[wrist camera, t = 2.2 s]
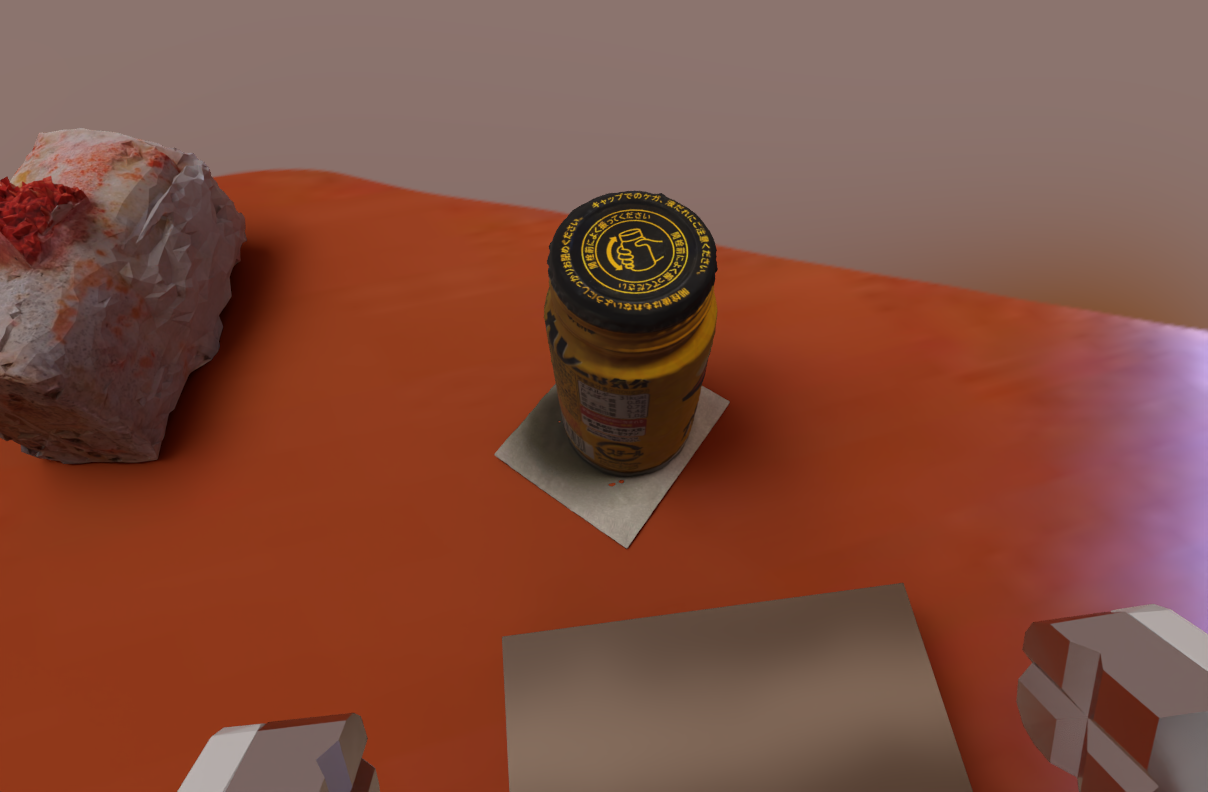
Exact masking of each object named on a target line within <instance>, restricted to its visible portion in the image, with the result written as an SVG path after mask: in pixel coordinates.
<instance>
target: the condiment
mask: <svg viewBox="0 0 1208 792" xmlns="http://www.w3.org/2000/svg"><path fill="white" fill-rule="evenodd" d="M549 249H550V254H549V256H548V260H547V264H548V265H549V268H548V274H549V278H550V279H549V290H548V293H547V296H546V301H545V307H544V319H545V324H546V331H547V337H548V343H549V348H550V353H551V362H552V365H553V370H554V376H555V382H556V384H555V385H554V386H553V387H552V388H551V389H550V391H549V392H548V393H547V394H546V395H545V396H544V397H543V398H542V399H541V400H540V402H539V403H538V404H537V406H536V407H535V408H534V409H533V410H532V412H531V413H529V415H528V416H527V418H526V419H525V420H524V421H523V422H522V423H521V425H520V426H519V427H518V428H517V429H516V430H515V431H514V432H513V433H512V434H511V435H510V436H509V437H508V438H507V440H506V441H505V442H504V444H503V445H502V446H501V447H500V448H499V449H498V451H497V452H496V453H495V454H494V455H495V456H497V457H498V458H499V459H501V460H502V461H503V462H505V463H506V464H508V465H509V466H510V467H511V468H513V469H514V470H516V471H517V472H519V473H520V474H521V475H523V476H524V477H525V478H527V479H528V480H530V481H531V482H533V483H534V484H536V485H537V486H538V487H539V488H541V489H542V490H544V491H545V492H546V493H548V494H549V495H551V496H552V497H553V498H555V499H556V500H558V501H559V502H561V503H562V504H564V505H565V506H566V507H567V508H569V509H570V510H571V511H573V512H575V513H576V514H578V515H579V516H581V517H582V518H584V519H585V520H587V521H588V522H589V523H591V524H592V525H593V526H595V527H596V528H598V529H599V530H600V531H602V532H604V533H605V534H607V535H608V536H609V537H611V538H612V539H614V540H615V541H617V542H618V543H619V544H621V545H622V546H624V547H625V548H628V546H629V545H630V543H631V542H632V541H633V539H634V538H635V536H636V535H637V533H638V532H639V530H640V529H641V528H642V526H643V525H644V524H645V522H646V521H647V519H648V518H649V516H650V515H651V513H652V512H653V510H654V509H655V508H656V506H657V505H658V503H659V502H660V501H661V499H662V498H663V497H664V495H665V494H666V492H667V491H668V489H669V488H670V487H671V485H672V484H673V482H674V481H675V480H676V478H677V477H678V475H679V474H680V473H681V471H682V470H683V469H684V467H685V466H686V464H687V463H688V461H689V460H690V459H691V457H692V456H693V454H694V453H695V451H696V450H697V449H698V447H699V446H700V444H701V443H702V442H703V440H704V439H705V437H706V436H707V435H708V433H709V432H710V430H711V429H712V427H713V426H714V424H715V423H716V422H717V420H718V419H719V417H720V416H721V415H722V413H723V412H724V410H725V409H726V407H727V406H728V404H729V403H730V401H728V400H726V399H724V398H722V397H721V396H719V395H717V394H716V393H714V392H712V391H711V390H709V389H707V388H705V387H703V386H702V382H703V379H704V376H705V371H706V366H707V361H708V357H709V355H710V352H711V347H712V344H713V338H714V334H715V327H716V319H717V304H716V299H715V295H714V282H715V273H716V272H717V269H718V268H717V261H716V257H717V256H716V251H717V250H716V246H715V242H714V239H713V237H712V235H711V233H710V231H709V230H708V228H707V227H706V226H705V224H704V223H703V222H702V220H701V219H700V218H699V217H698V216H697V215H696V214H695V213H694V212H693V211H691V210H690V209H689V208H687V207H685V206H683V205H681V204H680V203H678V202H676V201H675V200H672V199H669V198H667V197H666V196H665V195H663V194H662V193H660V194H651V193H648V192H642V191H626V192H619V193H609V194H606V195H603V196H600V197H597V198H595V199H593V200H591V201H589V202H587V203H585V204H583V205H581V206H579V207H578V208H576V209H574V210H573V211H572V212H571V213H570V214H569V215H568V217H567V218H566V219H565V220H564V221H563V222H562V223H561V225H560V226H559V227H558V229H557V231H556V233H555V235H554V238H553V241H552V242H551V243H550V245H549ZM559 421H560V422H559ZM619 480H624V483H619V482H618V481H619ZM610 483H616V485H615V486H612V487H610V486H609V485H608V484H610Z"/></svg>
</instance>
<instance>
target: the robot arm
mask: <svg viewBox="0 0 1208 792" xmlns="http://www.w3.org/2000/svg"><path fill="white" fill-rule="evenodd" d="M1023 651H1024V652H1025V654H1026V655H1027V656H1028V658H1029V659H1030V660H1031V662H1032V664H1031V665H1030V666H1029V667H1028V669H1027V670H1026V671H1025V672H1024V673H1023V675H1022V676H1021V677H1020V678H1019V679H1018V690H1017V705H1018V709H1019V712H1020V716H1021V719H1022V722H1023V726H1024V727H1025V729H1026V731H1027V733H1028V734H1029V736H1030V738H1031V740H1032V741H1033V743H1034V745H1035V746H1036V747H1037V748H1038V749H1039V750H1040V752H1041V753H1042V754H1043V755H1044V756H1045V757H1046V759H1047V760H1048V761H1049V762H1050V763H1052V764H1053V765H1055V766H1057V767H1059V768H1061V769H1063V770H1065V771H1066V772H1068V773H1070V774H1072V775H1074V776H1076V777H1077V779H1078V788H1079V792H1208V634H1206V633H1205V632H1204V631H1202V630H1201V629H1199V628H1198V627H1196V626H1195V625H1193V624H1192V623H1190V622H1189V621H1187V620H1186V619H1184V618H1183V617H1181V616H1180V615H1178V614H1177V613H1175V612H1174V611H1172V610H1170V609H1167V608H1164V607H1161V606H1158V605H1155V604H1150V605H1143V606H1137V607H1130V608H1124V609H1117V610H1113V611H1111V612H1101V613H1094V614H1087V615H1080V616H1073V617H1066V618H1059V619H1052V620H1045V621H1038V622H1033V623H1032V624H1031V625H1030V627H1029V628H1028V629H1027V631H1026V632H1025V637H1024V644H1023ZM367 739H368V738H367V735H366V732H365V729H364V725H363V722H362V719H361V716H359V715H357V714H355V713H347V714H338V715H329V716H320V717H310V718H301V719H292V720H283V721H273V722H268V723H267V724H255V725H245V726H236V727H226V728H223V729H221V730H220V731H219V732H217V733H216V734H215V735H213V736H212V737H211V738H210V739H209V741H208V743H207V744H206V746H205V747H204V749H203V751H202V752H201V754H200V756H199V757H198V759H197V760H196V762H195V764H194V765H193V767H192V769H191V770H190V772H189V773H188V775H187V777H186V778H185V780H184V782H183V783H182V785H181V786H180V788H179V790H178V791H177V792H380V789H379V782H378V778H377V774H376V770H375V768H374V767H373V766H372V765H370V764H369V763H368V762H366V761H365V760H364V759H362V754H363V751H364V748H365V745H366V742H367Z"/></svg>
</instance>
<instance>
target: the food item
mask: <svg viewBox="0 0 1208 792" xmlns="http://www.w3.org/2000/svg"><path fill="white" fill-rule="evenodd" d="M245 241H247V238H246V235H245V218H244V216H243V214H242V213H238V212H237V211H236V209H235V206H234V203H233V202H232V201H231V200H230V199H229V197H228V196H227V195H226V194H225V193H224V191H222V190H221V189H220V188H219V186H218V184H217V182H216V181H215V180H214V179H213V178H212V177H211V172H210V169H209V167H208V166H207V165H206V164H205V163H204V162H203V161H200V160H199V159H198V158H197V157H196V156H195V154H194V153H184V152H182V151H180V150H179V149H176V148H165V147H163V146H161V145H160V144H158V143H155V142H150V141H145V140H140V139H136V138H134V137H130V136H127V135H123V134H120V133H115V132H108V131H99V130H88V129H83V128H78V129H73V130H60V131H55V132H48V133H42V132H40V133H39V135H38V138H37V140H36V143H35V145H34V148H33V151H32V152H31V153H30V154H28V155H27V157H26V159H25V162H24V164H23V165H22V166H21V167H20V168H19V169H18V170H17V171H16V173H15V175H14V176H13V178H12V179H11V181H9V179H8V177H5V178H4V179H2V180H0V438H2V439H4V440H6V441H9V440H13V441H15V442H16V443H18V444H20V445H21V452H24V453H27V454H29V455H32V456H35V457H37V458H43V459H49V460H56V461H61V462H62V463H63V464H77V463H87V462H144V461H152V460H157V459H158V456H159V451H160V447H161V443H162V440H163V438H164V436H165V430H166V425H167V420H168V416H169V413H170V412H171V411H173V410H174V409H175V406H176V404H177V402H178V399H179V397H180V394H181V392H182V390H183V387H184V385H185V383H186V380H187V378H188V376H189V374H190V373H191V372H192V371H194V370H196V369H197V368H199V367H201V366H202V365H204V364H206V363H207V362H209V361H211V360H212V359H213V357H214V356H215V355H216V353H217V352H218V350H219V347H220V344H219V339H220V336H221V332H222V329H223V325H222V322H221V320H220V317H219V315H220V313H221V312H222V310H223V309H224V308H225V306H226V305H227V303H228V301H229V300H230V298H231V296H232V295H231V286H230V274H231V272H232V269H233V266H235V265H236V264H237V263H239V262H240V261H241V258H240V248H241V246H242V243H243V242H245ZM36 453H37V454H36ZM35 454H36V455H35Z"/></svg>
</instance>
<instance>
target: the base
mask: <svg viewBox="0 0 1208 792" xmlns="http://www.w3.org/2000/svg"><path fill="white" fill-rule="evenodd" d="M502 645H503V666H504V687H505V707H506V728H507V749H508V769H509V790H510V792H973V791H972V788H971V785H970V782H969V779H968V776H967V773H966V770H965V767H964V764H963V761H962V758H961V755H960V752H959V749H958V746H957V743H956V740H955V737H954V734H953V731H952V728H951V725H950V722H949V719H948V716H947V713H946V710H945V707H944V704H943V701H942V698H941V695H940V692H939V689H938V686H937V683H936V680H935V677H934V674H933V671H932V668H931V665H930V662H929V659H928V656H927V653H926V650H925V647H924V644H923V641H922V638H921V635H920V632H919V629H918V626H917V623H916V620H915V617H914V614H913V611H912V608H911V605H910V602H909V599H908V596H907V593H906V590H905V587H904V584H903V583H899V584H892V585H884V586H877V587H869V588H862V589H854V590H847V591H839V592H832V593H825V594H817V595H810V596H802V597H795V598H787V599H780V600H772V601H765V602H757V603H750V604H743V605H735V606H728V607H720V608H713V609H705V610H698V611H690V612H683V613H676V614H668V615H661V616H653V617H646V618H638V619H631V620H623V621H616V622H608V623H601V624H594V625H586V626H579V627H571V628H564V629H556V630H549V631H541V632H534V633H527V634H519V635H512V636H504V637H502Z"/></svg>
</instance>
